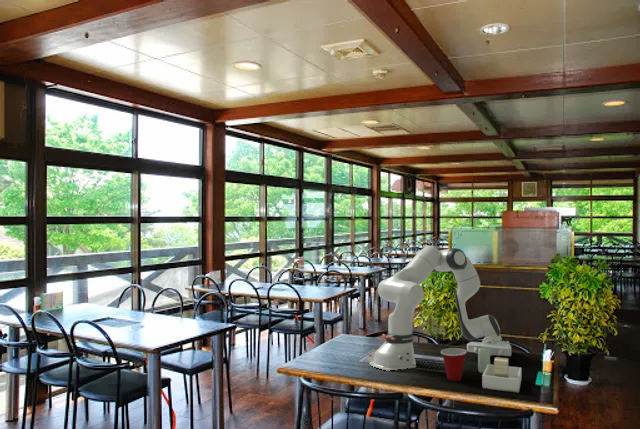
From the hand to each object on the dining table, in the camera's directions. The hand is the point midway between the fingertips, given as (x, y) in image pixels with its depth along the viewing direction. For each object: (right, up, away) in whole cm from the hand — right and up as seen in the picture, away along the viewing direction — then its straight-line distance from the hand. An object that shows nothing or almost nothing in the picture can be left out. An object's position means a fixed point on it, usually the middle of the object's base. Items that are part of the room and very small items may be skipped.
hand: (487, 352), depth 234 cm
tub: (-3, -5, -27) cm, 28 cm away
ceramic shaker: (-5, -5, -11) cm, 13 cm away
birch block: (-5, -4, -31) cm, 32 cm away
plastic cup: (-21, -6, -21) cm, 30 cm away
